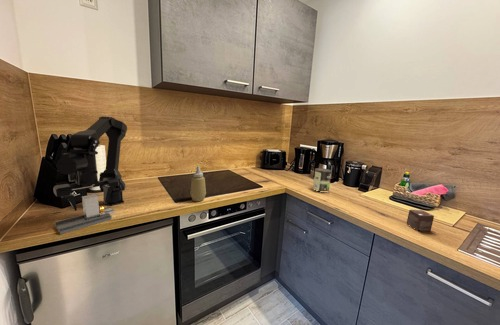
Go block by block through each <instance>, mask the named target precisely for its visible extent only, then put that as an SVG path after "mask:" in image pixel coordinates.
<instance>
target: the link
mask: <svg viewBox="0 0 500 325" xmlns="http://www.w3.org/2000/svg"><path fill="white" fill-rule="evenodd" d="M81 199H82V201H81V202H82V211H83V215H84V217H85V219H86V220H89V219H92V218H96V217H100V216H103V215H107V214H110V215H113V214H115V212H116V211H115V209H112V207H111V206H107V207H104V212H103V213H100V212H99V207H100V205H99V197H98V195H97V194H95V193H93V194H92V193H91V194H89V195H84V196H83V195H82V196H81Z"/></svg>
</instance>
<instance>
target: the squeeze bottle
mask: <svg viewBox="0 0 500 325" xmlns="http://www.w3.org/2000/svg"><path fill="white" fill-rule="evenodd" d="M190 183H191V184H190V193H189V195H190V197H191V200H192V201H193V202H203V201H204V200H205V197H206V195H207V189H206V187H207V186H206V178H205V177H204V173H203V172H202V171H201V166H200V165H198V166H196V170H195V172H193V176H192V177H191V182H190Z"/></svg>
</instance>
